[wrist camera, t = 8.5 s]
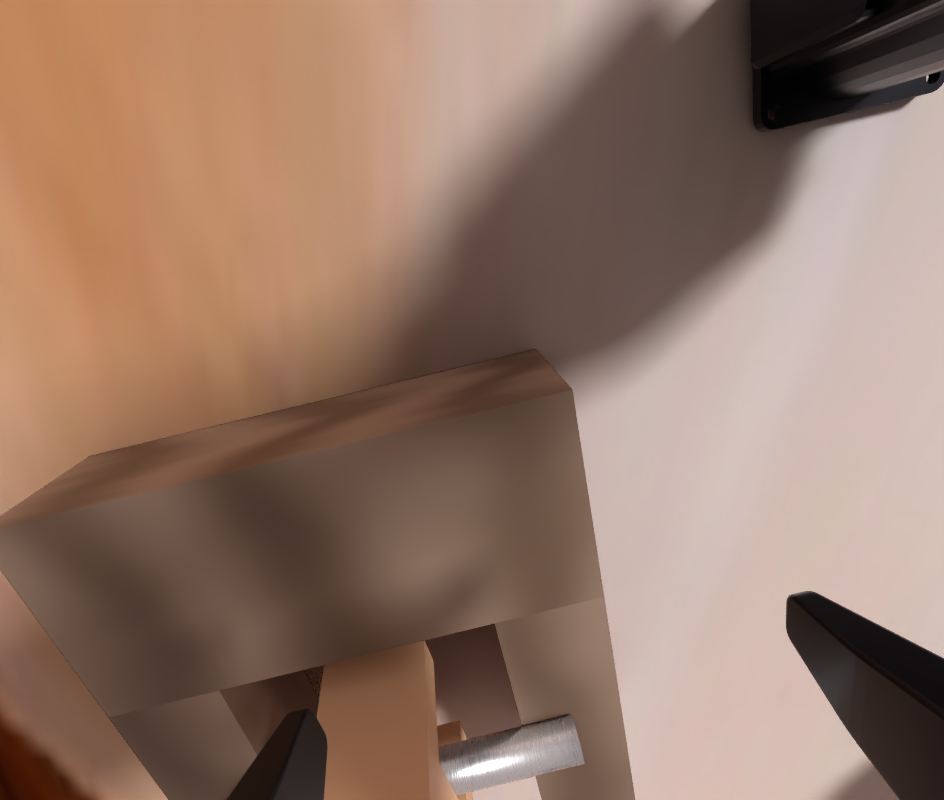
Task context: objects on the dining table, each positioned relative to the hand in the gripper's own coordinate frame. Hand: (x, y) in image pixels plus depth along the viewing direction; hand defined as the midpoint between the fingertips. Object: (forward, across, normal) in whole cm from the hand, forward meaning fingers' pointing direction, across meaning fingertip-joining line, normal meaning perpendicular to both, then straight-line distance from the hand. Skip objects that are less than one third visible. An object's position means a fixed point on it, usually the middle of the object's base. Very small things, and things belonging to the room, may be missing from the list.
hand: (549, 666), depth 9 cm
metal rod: (+6, +7, +11) cm, 15 cm away
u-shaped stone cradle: (+11, +7, +8) cm, 15 cm away
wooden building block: (+8, +7, +11) cm, 15 cm away
